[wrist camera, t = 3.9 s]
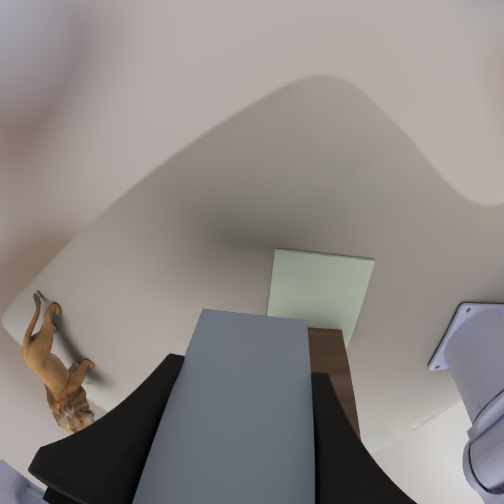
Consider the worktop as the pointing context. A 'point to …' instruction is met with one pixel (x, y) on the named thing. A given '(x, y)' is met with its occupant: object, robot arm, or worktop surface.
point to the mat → (319, 289)
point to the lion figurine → (57, 374)
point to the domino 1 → (237, 417)
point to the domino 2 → (334, 367)
